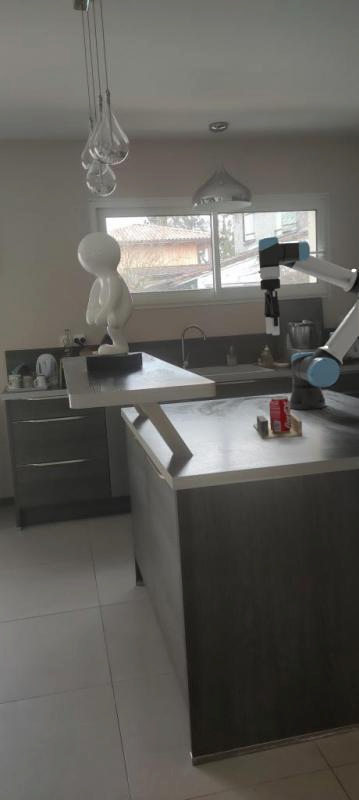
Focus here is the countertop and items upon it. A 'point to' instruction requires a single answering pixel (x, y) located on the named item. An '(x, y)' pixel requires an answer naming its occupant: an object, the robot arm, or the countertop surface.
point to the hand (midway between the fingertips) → (272, 334)
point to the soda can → (280, 414)
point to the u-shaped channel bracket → (266, 432)
